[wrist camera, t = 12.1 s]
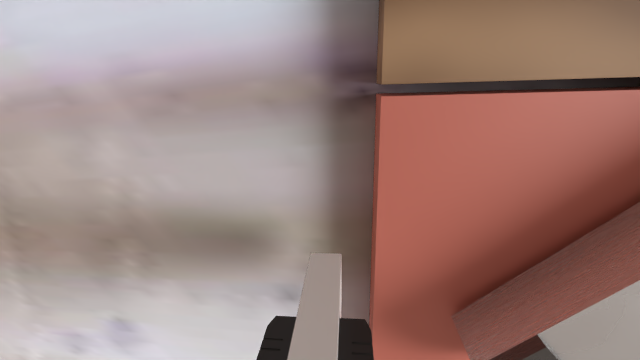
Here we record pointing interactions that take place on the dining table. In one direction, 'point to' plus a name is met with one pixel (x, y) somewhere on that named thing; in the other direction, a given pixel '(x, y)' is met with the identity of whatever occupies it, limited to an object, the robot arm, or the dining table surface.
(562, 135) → the door slab
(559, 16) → the strip
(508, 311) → the swing bar
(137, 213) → the dining table surface
